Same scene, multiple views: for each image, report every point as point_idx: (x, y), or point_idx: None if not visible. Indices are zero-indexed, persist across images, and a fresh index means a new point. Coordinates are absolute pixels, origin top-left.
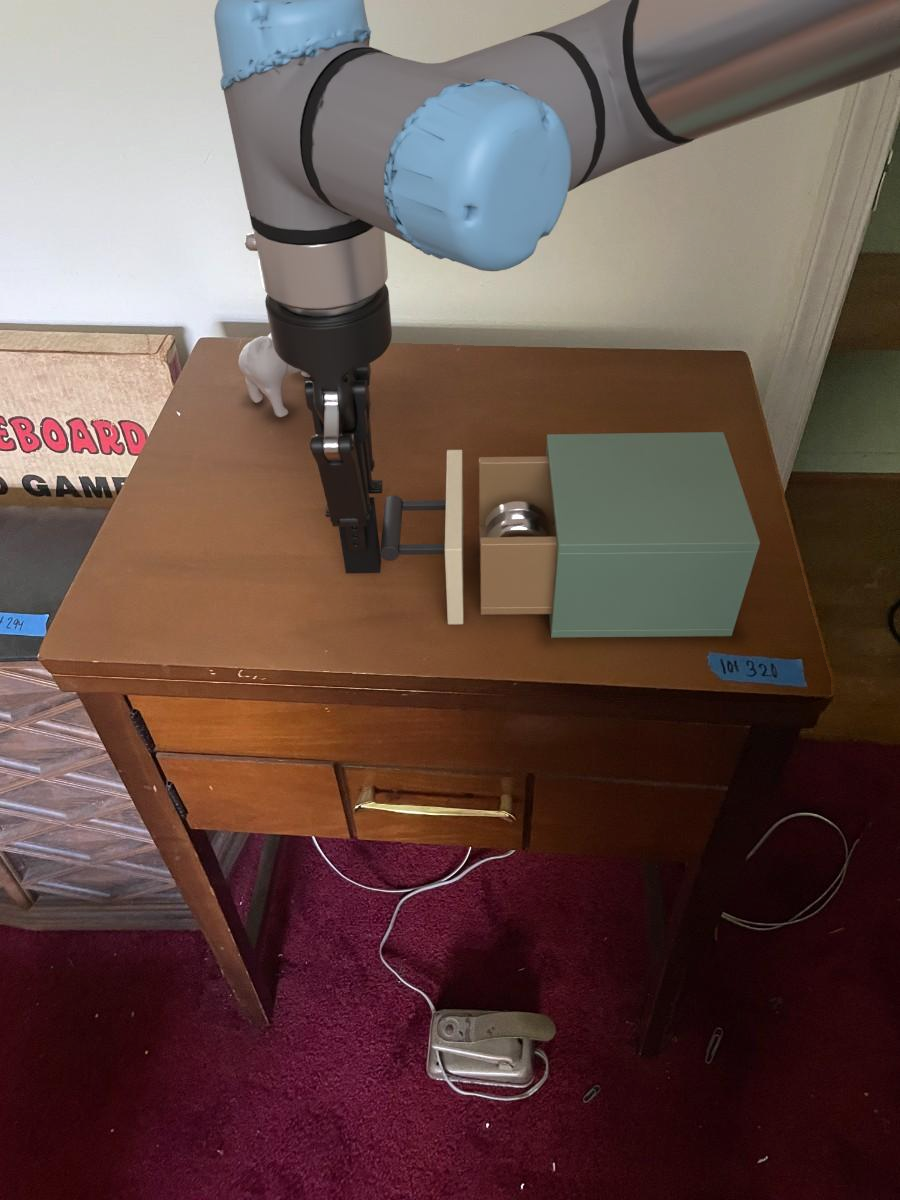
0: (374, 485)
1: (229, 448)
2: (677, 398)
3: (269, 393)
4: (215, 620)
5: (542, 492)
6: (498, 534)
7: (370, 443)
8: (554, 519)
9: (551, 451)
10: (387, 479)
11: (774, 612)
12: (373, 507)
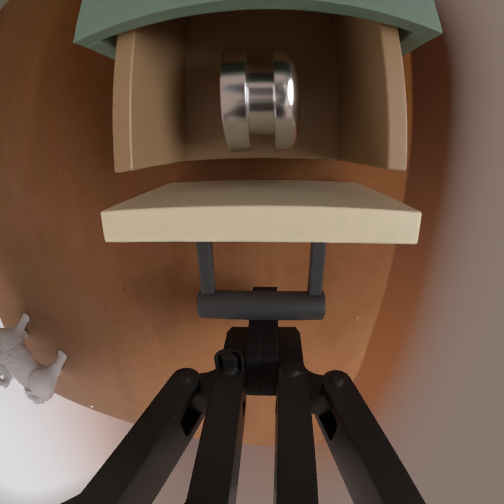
0: (230, 366)
1: (109, 388)
2: (20, 21)
3: (57, 374)
4: None
5: (163, 60)
6: (297, 126)
7: (168, 406)
8: (183, 57)
9: (124, 17)
10: (103, 274)
11: None
12: (265, 354)
